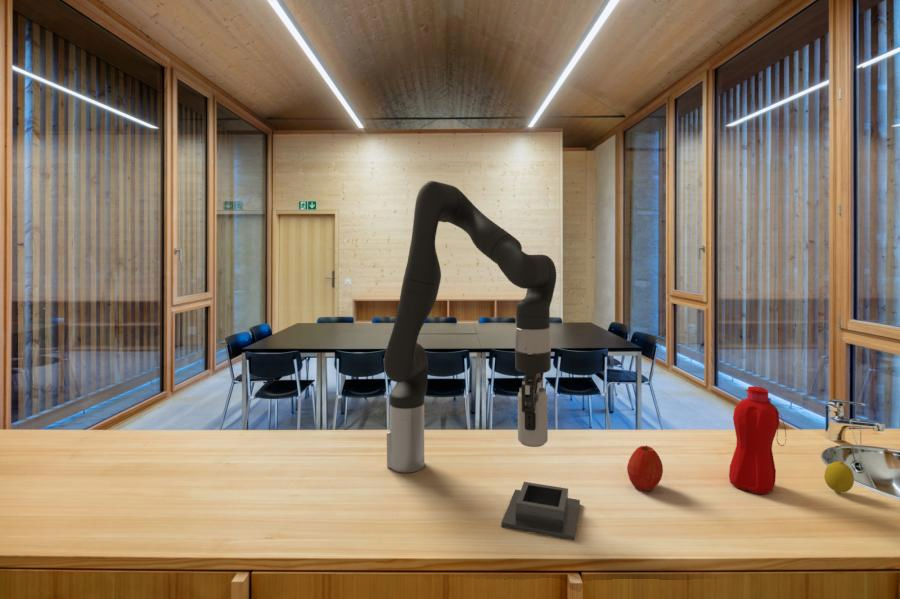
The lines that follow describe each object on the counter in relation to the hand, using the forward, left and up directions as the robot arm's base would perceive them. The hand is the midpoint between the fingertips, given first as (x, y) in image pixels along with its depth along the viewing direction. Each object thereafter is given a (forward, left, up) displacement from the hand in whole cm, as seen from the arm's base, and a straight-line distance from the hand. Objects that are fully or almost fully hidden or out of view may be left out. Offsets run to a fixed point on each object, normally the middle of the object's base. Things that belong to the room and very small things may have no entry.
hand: (532, 424), depth 106 cm
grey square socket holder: (+2, 0, -20) cm, 21 cm away
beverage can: (0, 0, -4) cm, 4 cm away
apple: (+24, +21, -21) cm, 38 cm away
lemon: (+68, +33, -21) cm, 79 cm away
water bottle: (+50, +30, -21) cm, 62 cm away
